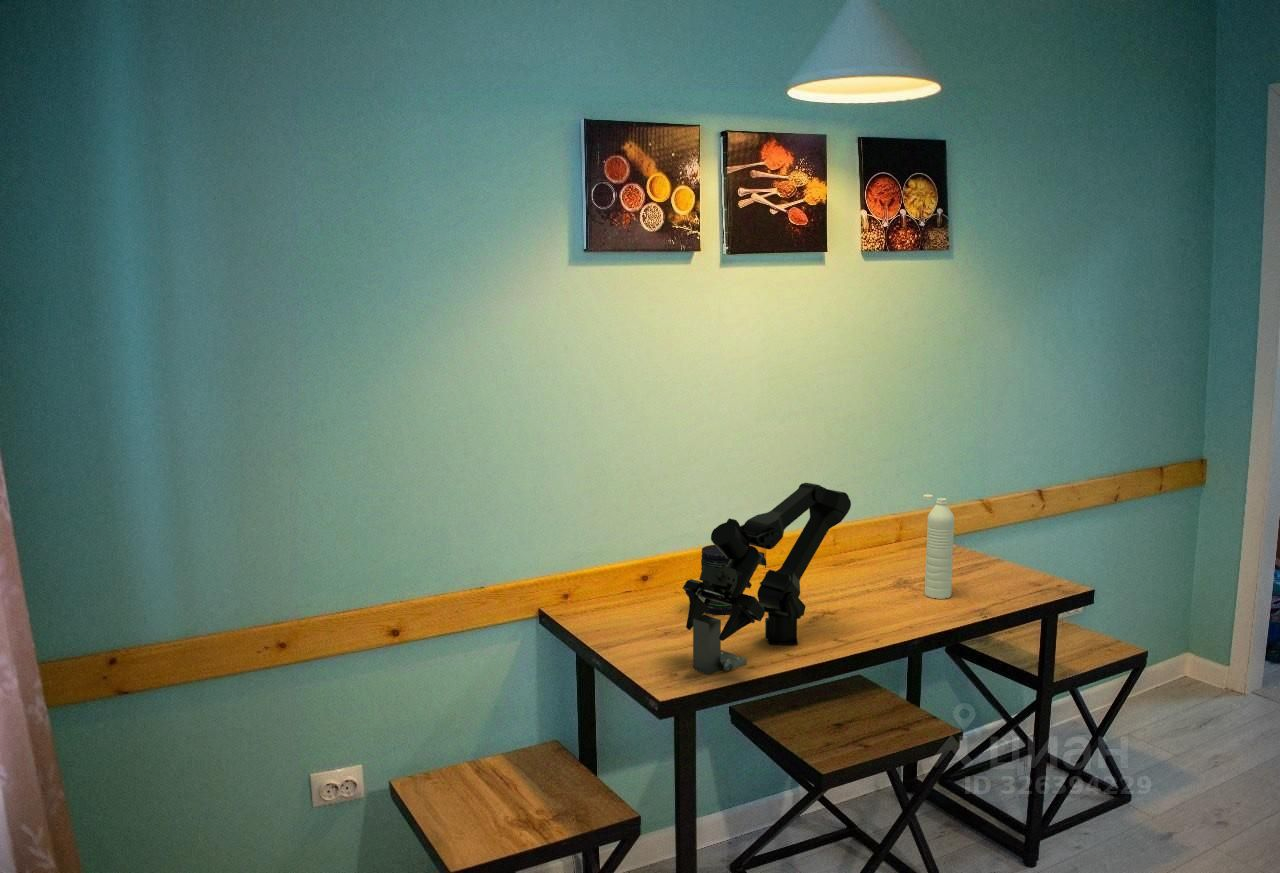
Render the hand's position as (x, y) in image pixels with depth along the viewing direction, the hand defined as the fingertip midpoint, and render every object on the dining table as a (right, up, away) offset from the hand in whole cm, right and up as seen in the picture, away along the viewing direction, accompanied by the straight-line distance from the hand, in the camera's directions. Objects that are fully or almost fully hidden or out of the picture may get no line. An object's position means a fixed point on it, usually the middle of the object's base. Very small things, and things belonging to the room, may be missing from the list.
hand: (703, 634), depth 221 cm
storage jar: (+7, -2, +40) cm, 41 cm away
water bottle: (+61, +1, +50) cm, 79 cm away
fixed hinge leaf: (+4, -7, +5) cm, 10 cm away
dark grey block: (+1, -8, +2) cm, 8 cm away
